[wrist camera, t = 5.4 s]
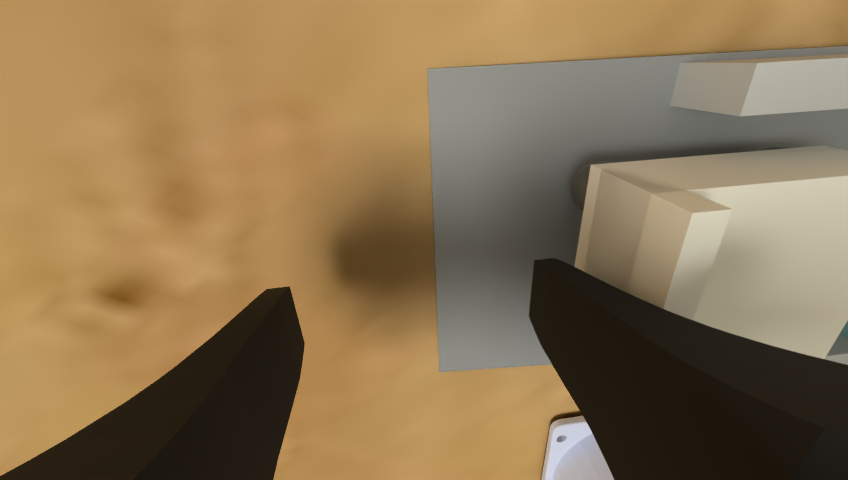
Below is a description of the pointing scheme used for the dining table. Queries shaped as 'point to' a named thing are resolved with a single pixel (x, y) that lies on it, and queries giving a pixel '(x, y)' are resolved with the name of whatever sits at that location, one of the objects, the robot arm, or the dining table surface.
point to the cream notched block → (726, 239)
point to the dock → (580, 145)
